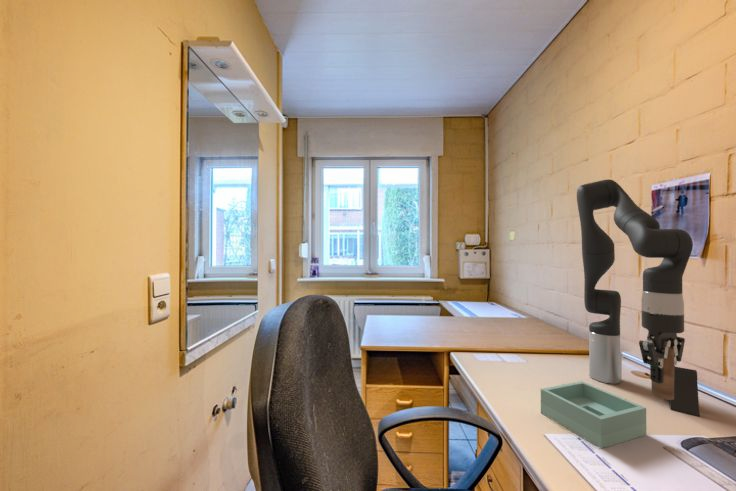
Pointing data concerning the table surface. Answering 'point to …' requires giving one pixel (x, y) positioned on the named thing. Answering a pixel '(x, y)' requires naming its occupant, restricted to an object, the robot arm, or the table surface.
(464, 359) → the table surface
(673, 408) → the phone stand
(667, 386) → the walnut peg
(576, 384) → the bore box
